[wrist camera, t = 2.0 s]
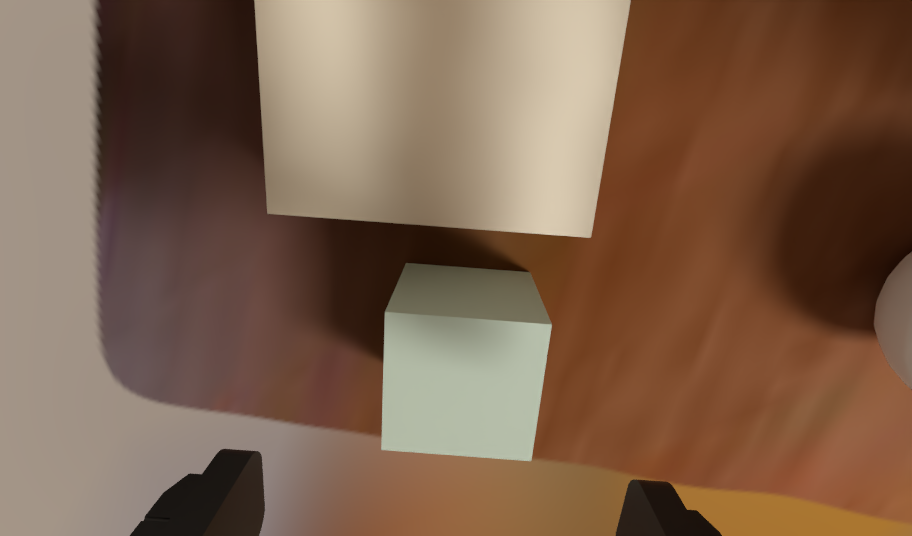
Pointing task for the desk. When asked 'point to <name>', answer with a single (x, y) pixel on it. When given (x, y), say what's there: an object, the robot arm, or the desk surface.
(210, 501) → the robot arm
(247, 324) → the desk surface
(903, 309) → the white rounded oval
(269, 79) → the birch block
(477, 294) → the sage cube
